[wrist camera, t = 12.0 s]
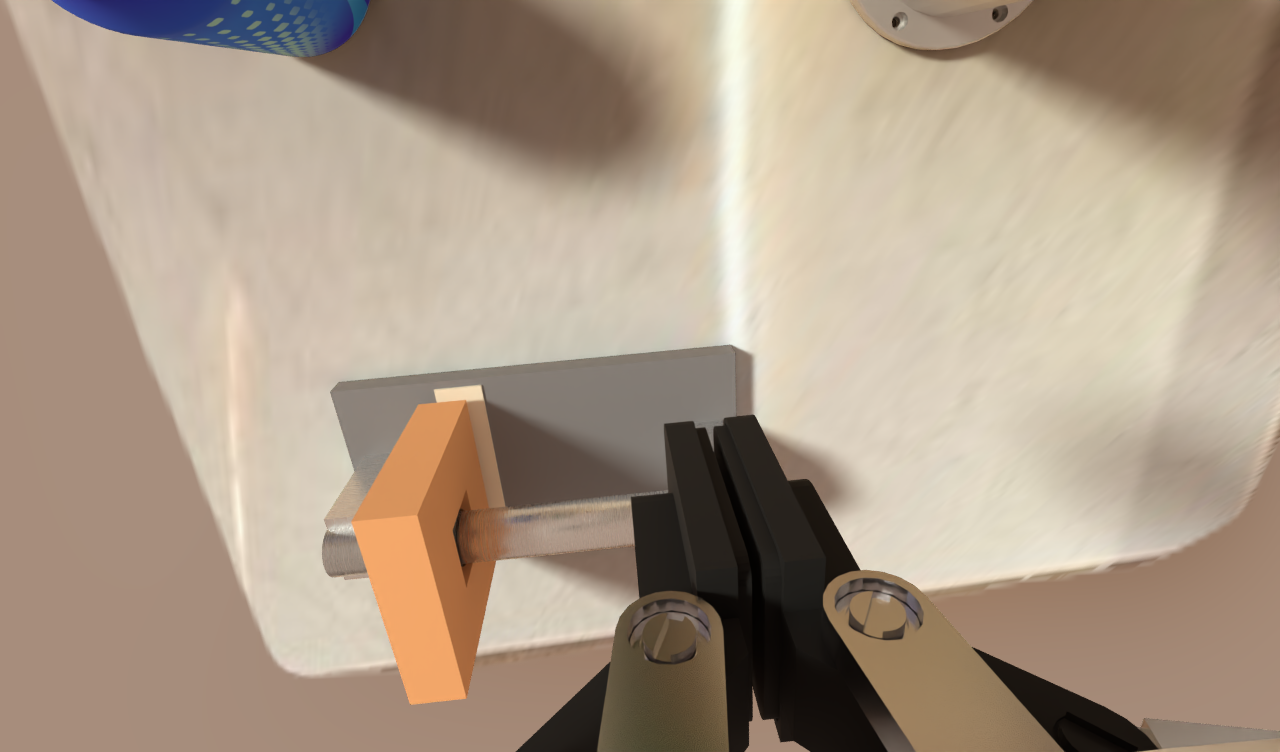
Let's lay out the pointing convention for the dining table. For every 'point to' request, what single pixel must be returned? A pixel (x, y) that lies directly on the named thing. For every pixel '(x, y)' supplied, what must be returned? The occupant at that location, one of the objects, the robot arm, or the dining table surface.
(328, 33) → the beer can
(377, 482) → the collar
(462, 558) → the pipe
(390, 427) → the base board
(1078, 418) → the dining table surface
